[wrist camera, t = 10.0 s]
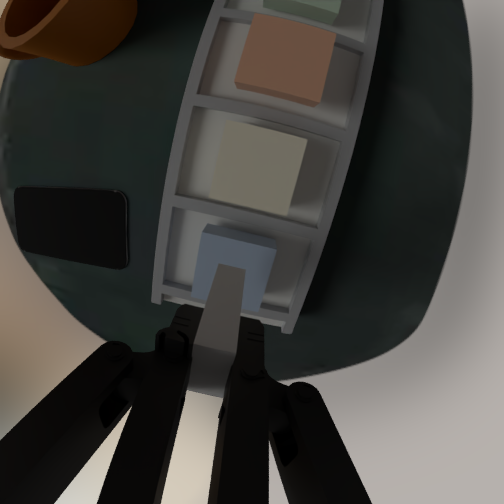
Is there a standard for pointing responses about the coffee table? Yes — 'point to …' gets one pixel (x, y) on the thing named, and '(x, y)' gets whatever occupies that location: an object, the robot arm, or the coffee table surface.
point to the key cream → (257, 167)
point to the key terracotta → (285, 60)
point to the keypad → (270, 117)
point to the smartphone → (73, 224)
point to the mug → (64, 29)
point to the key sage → (307, 8)
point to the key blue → (234, 262)
